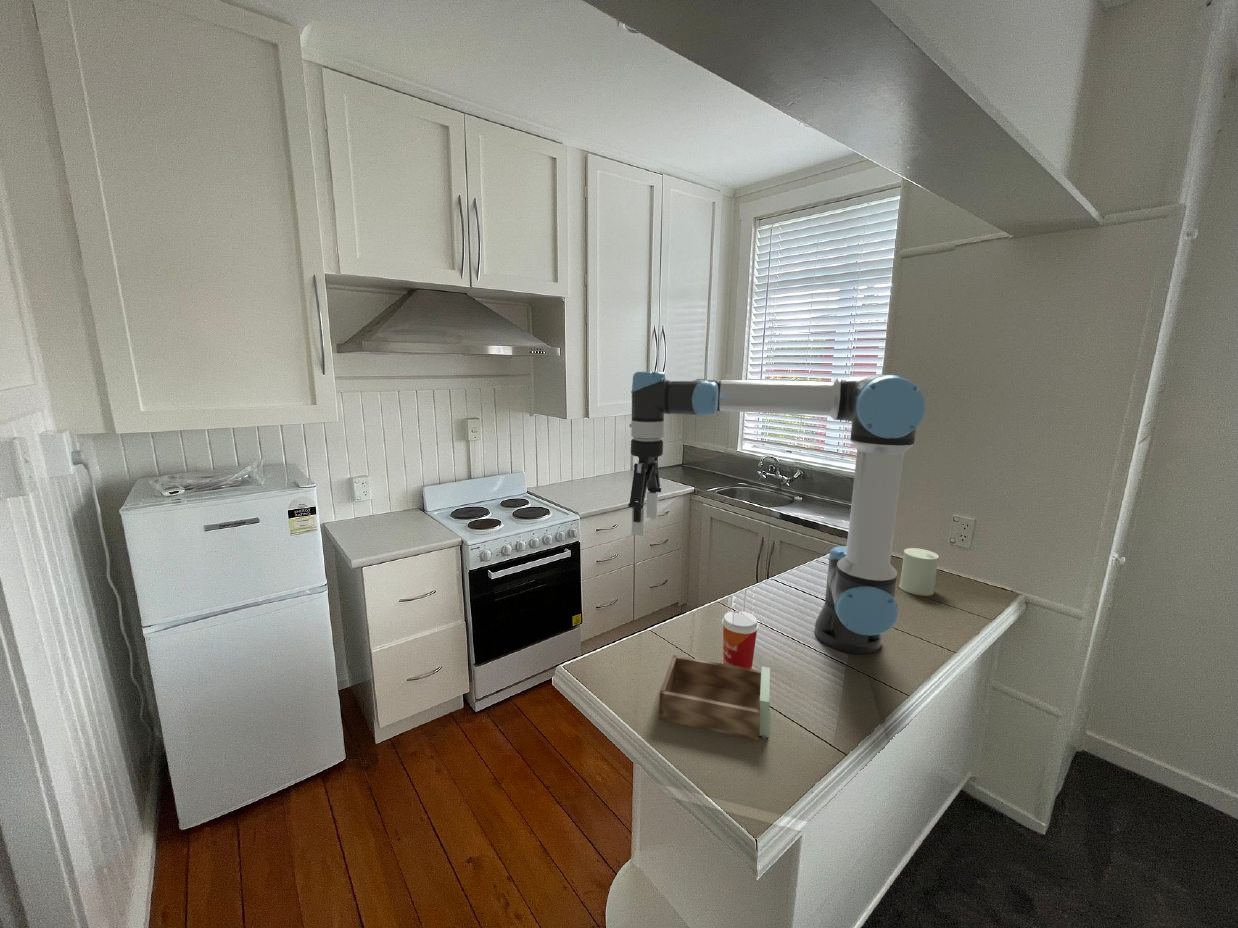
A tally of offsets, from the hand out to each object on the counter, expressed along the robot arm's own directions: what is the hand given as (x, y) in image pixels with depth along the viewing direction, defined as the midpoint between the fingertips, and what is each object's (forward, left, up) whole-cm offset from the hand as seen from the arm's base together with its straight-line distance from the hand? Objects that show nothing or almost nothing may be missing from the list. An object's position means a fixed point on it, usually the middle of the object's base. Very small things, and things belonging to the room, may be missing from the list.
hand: (645, 525), depth 122 cm
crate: (-20, +25, -28) cm, 42 cm away
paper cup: (-24, +12, -28) cm, 39 cm away
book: (-30, +25, -27) cm, 47 cm away
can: (-73, -50, -28) cm, 93 cm away
